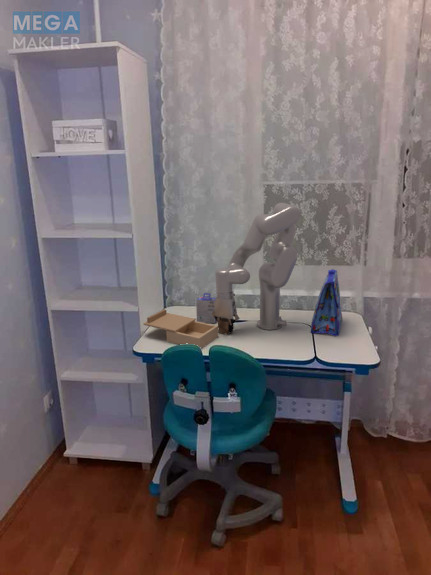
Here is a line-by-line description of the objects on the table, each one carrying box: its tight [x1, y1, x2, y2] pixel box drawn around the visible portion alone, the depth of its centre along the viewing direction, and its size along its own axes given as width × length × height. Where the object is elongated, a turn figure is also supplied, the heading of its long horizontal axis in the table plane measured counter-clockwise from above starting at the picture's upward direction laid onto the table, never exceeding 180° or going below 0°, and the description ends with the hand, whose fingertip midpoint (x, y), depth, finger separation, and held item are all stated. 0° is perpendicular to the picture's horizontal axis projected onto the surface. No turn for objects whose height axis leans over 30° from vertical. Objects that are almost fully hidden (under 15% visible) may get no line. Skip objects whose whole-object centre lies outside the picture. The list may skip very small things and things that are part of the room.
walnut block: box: [217, 318, 230, 335], centre depth 222 cm, size 5×5×6 cm
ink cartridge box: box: [195, 292, 217, 324], centre depth 234 cm, size 10×6×14 cm, turn 79°
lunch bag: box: [310, 269, 343, 337], centre depth 222 cm, size 22×14×29 cm, turn 161°
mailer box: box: [165, 320, 219, 349], centre depth 215 cm, size 18×16×5 cm
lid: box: [143, 308, 197, 332], centre depth 220 cm, size 18×16×3 cm
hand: (225, 330), depth 223 cm, fingers closed on walnut block, 5 cm apart
